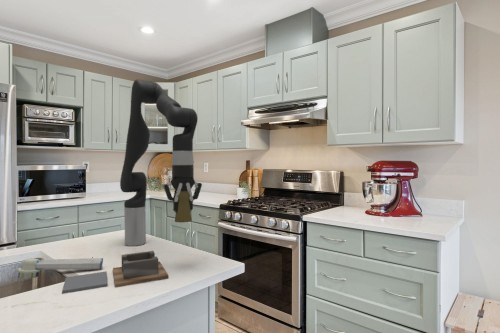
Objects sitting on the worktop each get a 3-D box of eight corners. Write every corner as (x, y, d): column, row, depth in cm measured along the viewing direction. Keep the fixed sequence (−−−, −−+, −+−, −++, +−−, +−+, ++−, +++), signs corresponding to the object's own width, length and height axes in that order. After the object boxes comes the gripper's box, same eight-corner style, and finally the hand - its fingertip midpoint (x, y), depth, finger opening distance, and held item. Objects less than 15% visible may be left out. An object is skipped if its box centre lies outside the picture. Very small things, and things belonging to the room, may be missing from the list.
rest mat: (66, 279, 101) (65, 277, 101) (106, 273, 107) (106, 271, 107) (62, 293, 91) (62, 290, 91) (107, 286, 96) (107, 283, 96)
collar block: (112, 270, 109) (112, 253, 109) (159, 264, 116) (159, 247, 116) (115, 287, 95) (114, 267, 95) (168, 278, 102) (168, 260, 102)
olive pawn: (190, 222, 109) (190, 190, 109) (173, 222, 109) (173, 191, 109) (192, 219, 115) (192, 189, 115) (176, 219, 115) (175, 189, 115)
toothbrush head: (102, 260, 110) (17, 258, 101) (99, 279, 110) (14, 279, 101) (103, 255, 115) (22, 254, 106) (101, 274, 114) (19, 274, 105)
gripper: (199, 163, 118) (199, 208, 118) (160, 163, 112) (160, 211, 112) (205, 163, 111) (205, 211, 112) (164, 164, 105) (164, 215, 105)
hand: (183, 211), depth 112 cm, fingers closed on olive pawn, 4 cm apart
